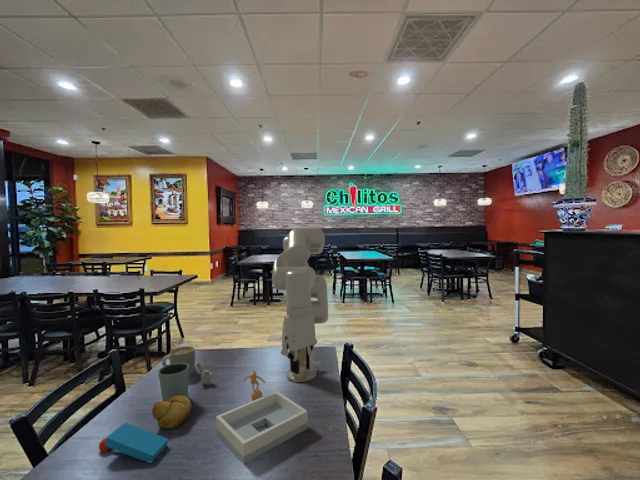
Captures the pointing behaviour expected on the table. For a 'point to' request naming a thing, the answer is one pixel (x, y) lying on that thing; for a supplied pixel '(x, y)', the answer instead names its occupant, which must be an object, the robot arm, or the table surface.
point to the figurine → (256, 393)
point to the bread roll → (171, 411)
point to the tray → (244, 420)
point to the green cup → (174, 380)
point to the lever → (134, 442)
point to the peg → (301, 365)
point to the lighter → (204, 375)
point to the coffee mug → (182, 357)
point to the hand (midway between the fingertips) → (300, 369)
